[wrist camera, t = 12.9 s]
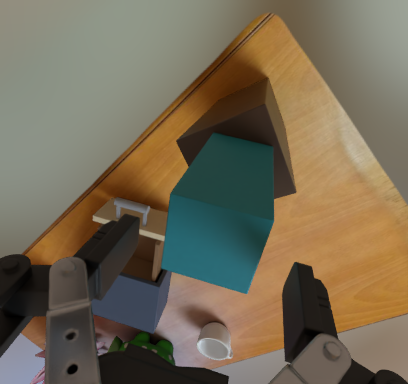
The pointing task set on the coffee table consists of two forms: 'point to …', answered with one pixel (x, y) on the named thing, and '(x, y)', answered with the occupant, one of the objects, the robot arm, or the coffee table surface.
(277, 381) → the robot arm
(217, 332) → the teacup
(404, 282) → the coffee table surface
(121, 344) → the piggy bank
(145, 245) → the drawer
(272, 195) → the block
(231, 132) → the stand
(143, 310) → the cabinet
